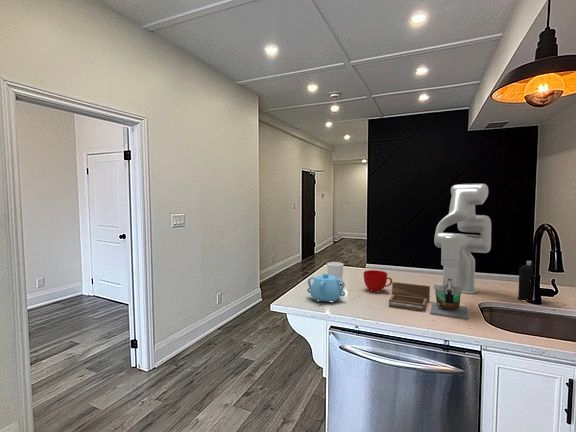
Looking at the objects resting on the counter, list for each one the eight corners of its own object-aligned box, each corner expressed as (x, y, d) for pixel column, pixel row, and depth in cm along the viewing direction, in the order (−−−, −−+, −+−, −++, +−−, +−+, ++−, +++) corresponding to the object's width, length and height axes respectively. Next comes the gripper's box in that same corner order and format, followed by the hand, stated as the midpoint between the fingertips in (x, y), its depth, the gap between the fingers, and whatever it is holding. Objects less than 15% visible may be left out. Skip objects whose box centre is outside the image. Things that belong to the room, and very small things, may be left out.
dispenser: (392, 296, 171) (392, 281, 170) (429, 301, 162) (429, 286, 162) (386, 306, 156) (386, 290, 155) (426, 312, 147) (427, 295, 147)
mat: (432, 303, 159) (432, 302, 159) (467, 308, 152) (467, 306, 152) (430, 314, 145) (430, 312, 145) (468, 319, 138) (468, 318, 138)
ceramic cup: (385, 296, 171) (385, 278, 170) (358, 290, 183) (358, 272, 183) (398, 291, 179) (398, 274, 179) (372, 285, 192) (372, 269, 191)
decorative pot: (317, 306, 157) (317, 278, 156) (305, 296, 172) (305, 271, 171) (347, 302, 162) (347, 276, 161) (333, 293, 177) (333, 269, 176)
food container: (435, 308, 147) (435, 286, 147) (433, 305, 152) (433, 284, 153) (465, 310, 143) (465, 287, 144) (462, 307, 149) (462, 285, 149)
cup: (331, 281, 202) (331, 261, 201) (346, 284, 196) (346, 263, 196) (324, 285, 194) (324, 264, 193) (338, 287, 188) (338, 266, 188)
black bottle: (516, 300, 163) (517, 261, 162) (519, 296, 169) (520, 258, 168) (536, 303, 158) (538, 263, 157) (538, 299, 164) (540, 260, 163)
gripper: (441, 258, 157) (441, 294, 158) (440, 265, 142) (439, 305, 143) (459, 259, 153) (458, 296, 155) (459, 266, 138) (458, 308, 139)
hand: (449, 300), depth 149 cm, fingers closed on food container, 5 cm apart
